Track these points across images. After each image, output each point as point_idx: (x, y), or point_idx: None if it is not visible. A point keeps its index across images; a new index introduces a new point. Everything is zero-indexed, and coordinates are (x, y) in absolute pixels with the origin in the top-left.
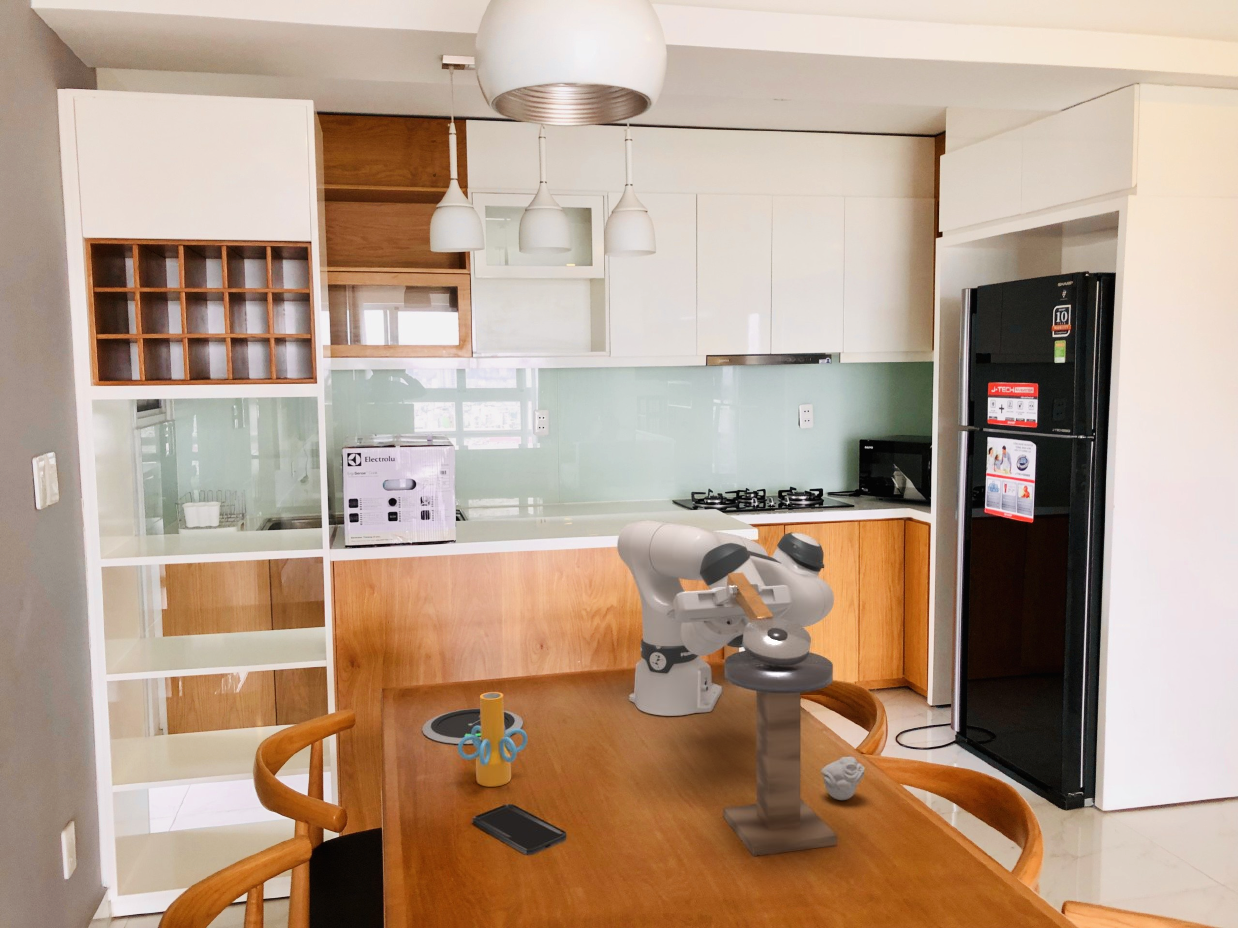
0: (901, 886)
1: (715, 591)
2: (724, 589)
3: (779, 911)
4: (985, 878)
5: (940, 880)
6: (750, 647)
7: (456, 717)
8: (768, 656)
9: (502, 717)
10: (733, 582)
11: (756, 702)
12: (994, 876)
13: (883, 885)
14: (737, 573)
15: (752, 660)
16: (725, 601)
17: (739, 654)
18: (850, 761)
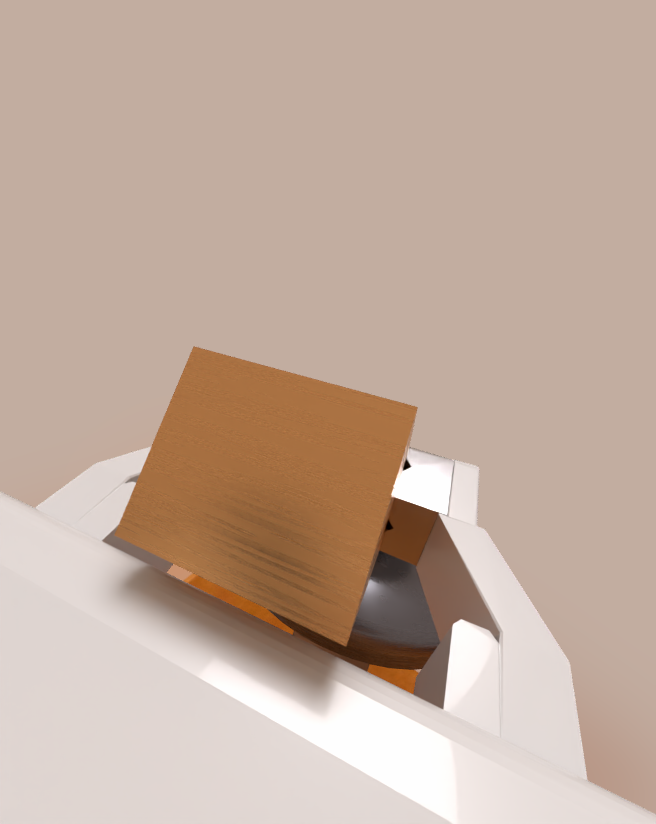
0: (275, 621)
1: (570, 782)
2: (484, 540)
3: (405, 674)
4: (207, 582)
5: (238, 603)
6: None
7: None
8: None
9: None
10: (406, 454)
11: (368, 665)
12: (198, 578)
13: (287, 632)
14: (272, 373)
15: (411, 570)
16: (420, 674)
17: (423, 615)
18: None
